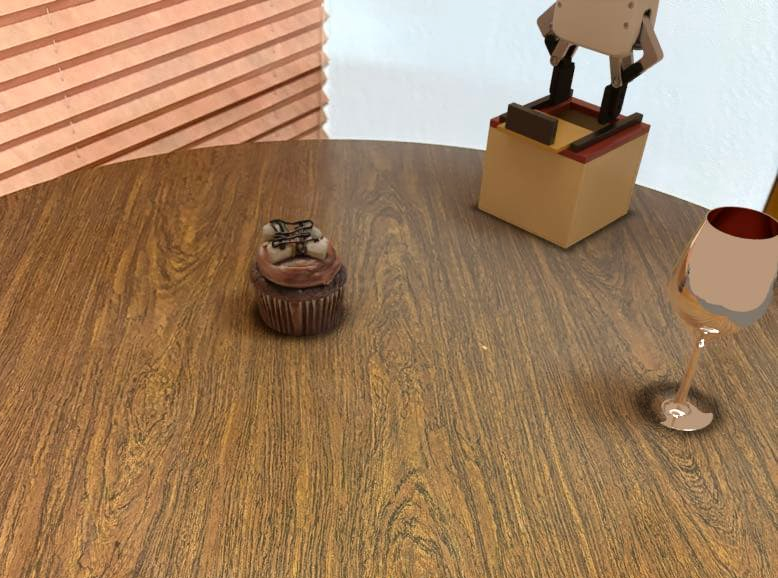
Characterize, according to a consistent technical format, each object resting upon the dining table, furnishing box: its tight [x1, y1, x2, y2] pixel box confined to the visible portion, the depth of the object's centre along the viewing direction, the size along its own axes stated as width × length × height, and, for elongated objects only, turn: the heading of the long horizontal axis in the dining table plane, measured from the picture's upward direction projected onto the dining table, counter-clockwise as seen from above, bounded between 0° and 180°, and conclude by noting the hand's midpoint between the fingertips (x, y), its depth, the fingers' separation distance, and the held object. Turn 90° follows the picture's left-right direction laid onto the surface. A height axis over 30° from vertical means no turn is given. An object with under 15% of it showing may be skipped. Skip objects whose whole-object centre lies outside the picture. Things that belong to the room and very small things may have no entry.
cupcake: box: [248, 217, 349, 337], centre depth 83 cm, size 10×10×10 cm
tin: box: [477, 88, 651, 250], centre depth 100 cm, size 13×13×12 cm
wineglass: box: [659, 205, 778, 432], centre depth 73 cm, size 8×8×18 cm
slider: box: [497, 102, 593, 154], centre depth 93 cm, size 7×8×3 cm
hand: (582, 110), depth 97 cm, fingers open, 6 cm apart
